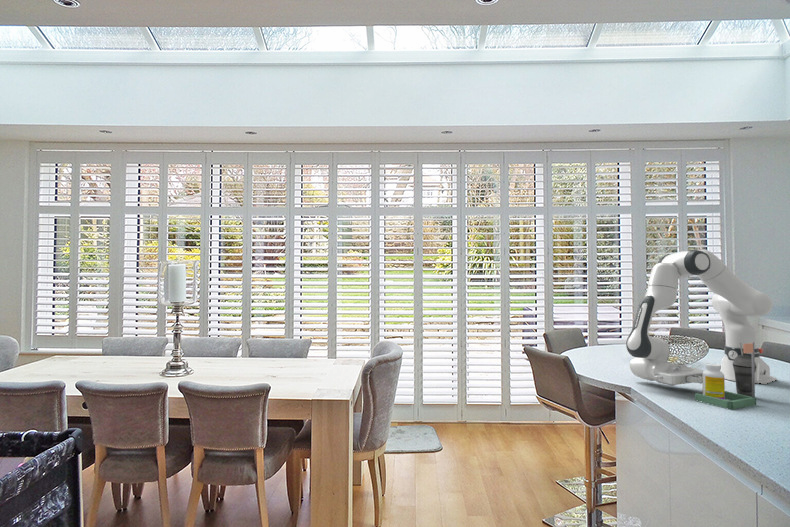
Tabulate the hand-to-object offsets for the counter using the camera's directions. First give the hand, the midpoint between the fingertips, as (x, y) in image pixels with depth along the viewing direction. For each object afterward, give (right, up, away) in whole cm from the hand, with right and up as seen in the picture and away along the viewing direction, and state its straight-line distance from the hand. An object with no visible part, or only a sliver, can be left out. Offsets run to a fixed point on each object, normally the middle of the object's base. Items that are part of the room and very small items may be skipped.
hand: (704, 381), depth 171 cm
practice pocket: (+3, -6, -6) cm, 9 cm away
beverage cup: (+17, -7, +2) cm, 18 cm away
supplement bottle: (+1, -6, -3) cm, 7 cm away
